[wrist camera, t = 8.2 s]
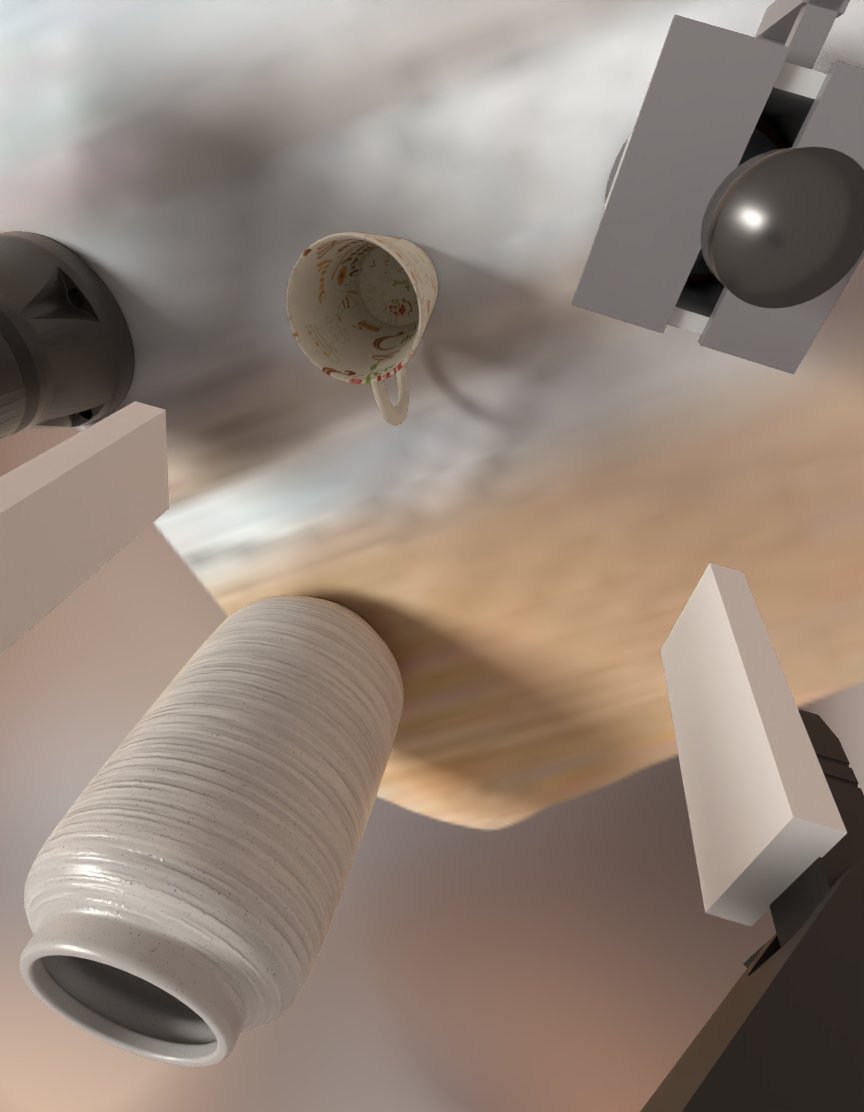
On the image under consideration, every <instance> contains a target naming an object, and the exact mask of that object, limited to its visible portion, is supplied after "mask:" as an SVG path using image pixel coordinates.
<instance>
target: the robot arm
mask: <svg viewBox="0 0 864 1112" xmlns="http://www.w3.org/2000/svg"><path fill="white" fill-rule="evenodd" d="M132 375H133V349H132V343H131V339H130V335H129V331H128V328H127V325H126V322H125V320H124V317H123V315H122V313H121V311H120V309H119V307H118V305H117V303H116V301H115V299H114V298H113V296H112V295H111V293H110V291H109V290H108V288H107V287H106V286H105V284H104V283H103V282H102V280H101V279H100V278H99V277H98V276H97V274H96V273H95V272H94V271H93V270H92V269H91V268H90V267H89V266H88V265H87V264H86V263H85V262H84V261H83V260H81V259H80V258H79V257H78V256H77V255H75V254H74V253H73V252H71V251H70V250H68V249H67V248H65V247H64V246H62V245H61V244H59V243H57V242H55V241H53V240H51V239H49V238H46V237H43V236H41V235H37V234H34V233H29V232H21V231H13V232H4V233H0V440H2V439H4V438H6V437H8V436H10V435H13V434H15V433H17V432H19V431H21V430H37V429H54V428H70V427H77V426H82V425H85V424H88V423H90V422H93V421H95V420H97V419H99V418H101V417H102V416H104V415H106V414H108V413H110V412H111V411H113V410H114V409H115V408H116V407H118V405H119V404H120V403H121V402H122V401H123V399H124V398H125V396H126V394H127V392H128V390H129V387H130V384H131V380H132ZM168 509H169V494H168V464H167V435H166V410H165V409H161V408H158V407H154V406H150V405H147V404H143V403H140V402H136V401H135V402H133V403H131V404H129V405H128V406H126V407H124V408H122V409H120V410H119V411H117V412H115V413H113V414H112V415H110V416H108V417H106V418H104V419H103V420H101V421H99V422H97V423H96V424H94V425H92V426H90V427H88V428H87V429H85V430H83V431H81V432H80V433H78V434H76V435H74V436H73V437H71V438H69V439H68V440H65V441H64V442H62V443H60V444H59V445H57V446H55V447H53V448H51V449H49V450H48V451H46V452H44V453H43V454H41V455H39V456H37V457H35V458H34V459H32V460H30V461H28V462H26V463H25V464H23V465H21V466H19V467H18V468H16V469H14V470H12V471H10V472H9V473H7V474H5V475H3V476H2V477H0V656H1V655H2V654H3V653H4V652H5V651H6V650H8V649H9V648H10V647H11V646H12V645H13V644H14V643H16V642H17V641H18V640H19V639H20V638H21V637H22V636H24V635H25V634H26V633H27V632H28V631H29V630H31V629H32V628H33V627H34V626H35V625H36V624H37V623H39V621H41V620H42V619H43V618H44V617H45V616H46V615H48V614H49V613H50V612H51V611H52V610H53V609H54V608H56V607H57V606H58V605H59V604H60V603H61V602H63V601H64V600H65V599H66V598H67V597H68V596H69V595H71V594H72V593H73V592H74V591H75V590H76V589H77V588H79V586H81V585H82V584H83V583H84V582H85V581H86V580H88V579H89V578H90V577H91V576H92V575H93V574H94V573H96V572H97V571H98V570H99V569H100V568H101V567H103V566H104V565H105V564H106V563H107V562H108V561H109V560H111V559H112V558H113V557H114V556H115V555H116V554H117V553H119V552H120V551H121V550H122V549H123V548H124V547H125V546H126V545H128V544H129V543H130V542H131V541H132V540H133V539H135V538H136V537H137V536H138V535H139V534H140V533H141V532H143V531H144V530H145V529H146V528H147V527H148V526H149V525H151V524H152V523H153V522H154V521H155V520H156V519H157V518H159V517H160V516H161V515H162V514H163V513H164V512H165V511H167V510H168ZM661 656H662V662H663V668H664V674H665V679H666V685H667V691H668V697H669V703H670V709H671V715H672V720H673V726H674V732H675V738H676V744H677V750H678V755H679V761H680V767H681V773H682V778H683V785H684V790H685V796H686V802H687V808H688V814H689V820H690V826H691V831H692V837H693V843H694V849H695V855H696V861H697V867H698V872H699V878H700V884H701V890H702V896H703V902H704V908H705V912H706V913H708V914H711V915H715V916H718V917H721V918H724V919H728V920H731V921H734V922H737V923H741V924H744V925H747V926H752V925H753V924H754V923H755V922H756V921H757V920H758V919H760V918H761V917H762V916H763V915H764V913H766V912H767V911H768V910H769V909H771V913H772V917H773V921H774V925H775V928H776V934H775V935H774V936H773V937H772V938H771V939H770V940H769V941H768V942H767V943H765V945H763V946H762V947H761V948H760V949H759V950H758V951H757V952H756V953H755V954H753V956H751V957H750V958H749V959H748V960H747V961H746V962H745V963H744V965H745V966H746V967H747V969H746V971H745V972H744V973H743V975H742V976H741V977H740V979H739V980H738V981H737V983H736V984H735V986H734V987H733V988H732V989H731V991H730V992H729V993H728V995H727V996H726V997H725V999H724V1000H723V1002H722V1003H721V1004H720V1006H719V1007H718V1008H717V1010H716V1011H715V1012H714V1014H713V1015H712V1016H711V1018H710V1019H709V1020H708V1022H707V1023H706V1025H705V1026H704V1027H703V1028H702V1030H701V1031H700V1033H699V1034H698V1035H697V1036H696V1038H695V1039H694V1040H693V1042H692V1043H691V1044H690V1046H689V1047H688V1048H687V1050H686V1051H685V1052H684V1054H683V1055H682V1056H681V1058H680V1059H679V1061H678V1062H677V1063H676V1065H675V1066H674V1068H673V1069H672V1070H671V1071H670V1073H669V1074H668V1075H667V1077H666V1078H665V1079H664V1081H663V1082H662V1083H661V1085H660V1086H659V1087H658V1089H657V1090H656V1091H655V1093H654V1094H653V1095H652V1097H651V1098H650V1099H649V1101H648V1102H647V1103H646V1105H645V1106H644V1107H643V1109H642V1110H641V1111H640V1112H864V795H863V792H862V790H861V789H860V788H858V786H857V785H858V781H857V779H856V777H855V775H854V772H853V770H852V768H849V761H848V759H847V757H846V755H845V752H844V750H843V748H842V746H841V743H840V741H839V739H838V738H837V737H836V735H835V734H834V733H833V732H832V731H831V730H830V728H829V727H828V726H827V725H826V724H825V722H824V721H823V720H822V719H821V718H820V716H819V715H816V714H813V713H810V712H806V711H803V710H799V709H798V708H797V706H796V703H795V701H794V698H793V696H792V693H791V691H790V688H789V686H788V683H787V681H786V678H785V676H784V673H783V671H782V668H781V666H780V663H779V661H778V658H777V656H776V653H775V651H774V648H773V646H772V643H771V641H770V638H769V636H768V633H767V631H766V628H765V626H764V623H763V621H762V618H761V616H760V613H759V611H758V608H757V606H756V603H755V601H754V598H753V596H752V593H751V591H750V588H749V586H748V583H747V581H746V578H745V576H744V573H743V572H742V571H738V570H734V569H731V568H727V567H724V566H720V565H717V564H713V563H709V565H708V567H707V569H706V570H705V572H704V574H703V576H702V577H701V579H700V581H699V583H698V584H697V586H696V588H695V590H694V592H693V593H692V595H691V597H690V599H689V600H688V602H687V604H686V606H685V607H684V609H683V611H682V613H681V615H680V616H679V618H678V620H677V622H676V623H675V625H674V627H673V629H672V630H671V632H670V634H669V636H668V637H667V639H666V641H665V643H664V645H663V646H662V648H661Z"/></svg>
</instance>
